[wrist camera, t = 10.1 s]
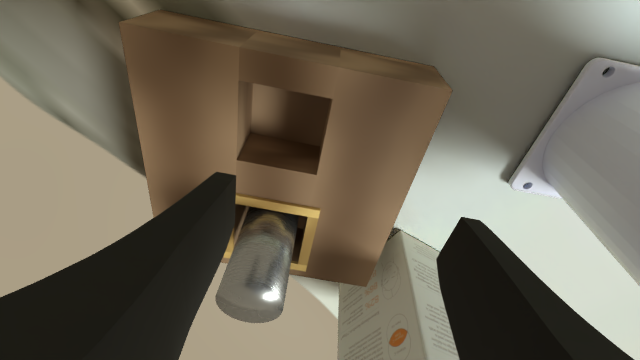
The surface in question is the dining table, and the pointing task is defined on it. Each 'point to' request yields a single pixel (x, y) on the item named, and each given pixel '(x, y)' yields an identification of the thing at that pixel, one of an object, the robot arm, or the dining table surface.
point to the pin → (259, 267)
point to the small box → (396, 308)
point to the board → (283, 131)
